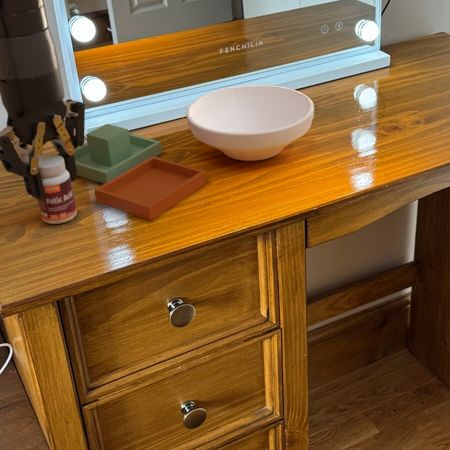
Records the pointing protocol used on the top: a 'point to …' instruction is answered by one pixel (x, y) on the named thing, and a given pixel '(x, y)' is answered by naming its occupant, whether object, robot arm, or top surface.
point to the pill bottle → (56, 191)
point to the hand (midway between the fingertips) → (53, 187)
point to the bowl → (250, 120)
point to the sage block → (109, 145)
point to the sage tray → (103, 173)
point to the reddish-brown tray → (151, 187)
